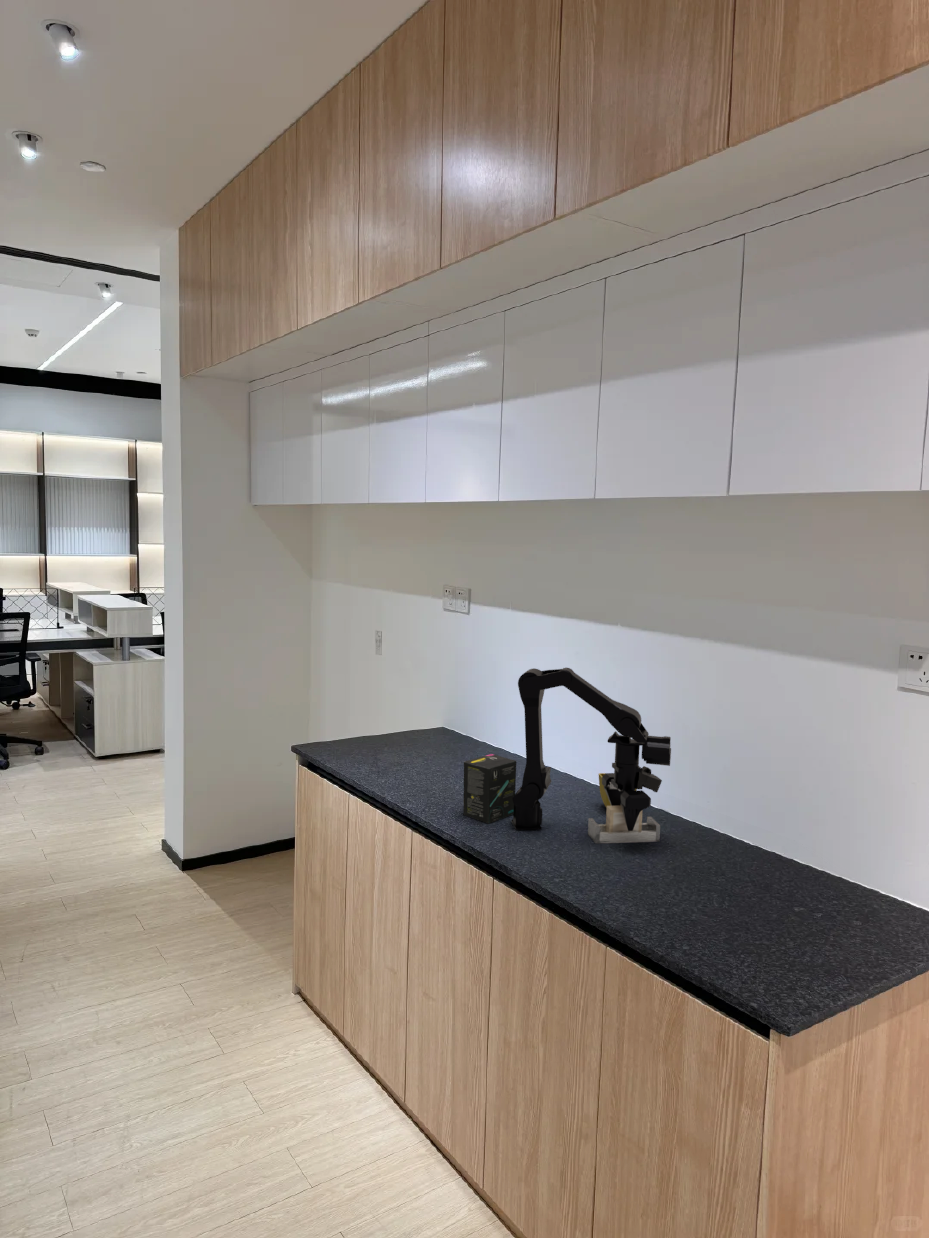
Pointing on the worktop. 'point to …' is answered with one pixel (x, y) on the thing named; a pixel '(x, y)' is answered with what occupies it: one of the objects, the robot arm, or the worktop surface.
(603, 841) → the bottom track
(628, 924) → the worktop surface
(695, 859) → the worktop surface
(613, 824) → the door panel
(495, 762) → the tampon box
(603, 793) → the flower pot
